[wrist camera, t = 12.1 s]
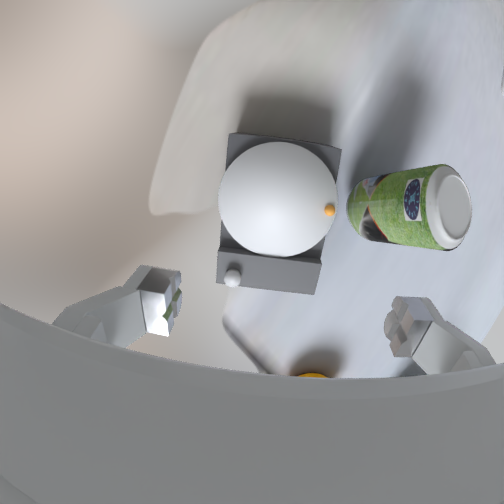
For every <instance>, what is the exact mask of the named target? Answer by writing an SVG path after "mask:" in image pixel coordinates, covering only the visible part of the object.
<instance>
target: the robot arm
mask: <svg viewBox="0 0 504 504" xmlns="http://www.w3.org/2000/svg"><path fill="white" fill-rule="evenodd" d="M501 91H502V95H503V97H504V68H503V77H502V84H501ZM180 283H181V273H180V271H177V270H171V269H165V268H159V267H153V266H148V265H140V266H139V267H138V268H137V269H136V271H135V272H134V273H133V275H132V276H131V277H130V278H129V279H128V280H127V282H126V283H125V284H124V285H123V287H121V286H118V287H116V288H113V289H110V290H108V291H105V292H103V293H100V294H98V295H95V296H93V297H90V298H88V299H85V300H83V301H80V302H78V303H76V304H73V305H70V306H68V307H66V308H65V309H64V311H63V312H62V313H61V314H60V315H59V316H58V317H57V318H56V320H55V321H54V322H53V323H52V324H48V323H46V322H43V321H41V320H38V319H36V318H34V317H31V316H29V315H26V314H24V313H22V312H19V311H17V310H15V309H13V308H10V307H8V306H6V305H4V304H2V303H0V504H504V363H500V364H496V363H495V361H494V359H493V358H492V356H491V354H490V353H489V351H488V350H487V348H486V347H484V346H483V345H481V344H480V343H479V342H477V341H476V340H474V339H473V338H471V337H470V336H468V335H467V334H466V333H464V332H463V331H461V330H460V329H458V328H457V327H455V326H454V325H452V324H451V323H449V322H448V321H444V319H443V318H442V316H441V315H440V313H439V312H438V310H437V309H436V307H435V306H434V304H433V303H432V302H431V300H430V299H429V298H427V297H400V296H396V298H395V299H394V300H393V303H392V309H393V310H392V311H391V312H389V313H388V314H387V317H386V319H385V322H384V333H385V335H386V337H387V338H388V339H389V340H390V341H391V343H390V348H391V350H392V353H393V355H394V357H412V359H413V360H414V361H415V362H416V363H417V364H418V365H419V366H420V367H421V368H422V369H423V370H424V371H425V372H426V374H427V375H420V376H407V377H389V378H315V377H296V376H283V375H271V374H261V373H252V372H244V371H236V370H229V369H222V368H216V367H210V366H204V365H198V364H192V363H187V362H182V361H177V360H172V359H167V358H163V357H158V356H154V355H150V354H145V353H141V352H137V351H133V350H129V349H126V347H127V346H129V345H130V344H132V343H133V342H134V341H136V340H137V339H139V338H140V337H142V336H143V335H144V334H146V332H149V333H154V334H159V335H165V336H169V334H170V332H171V330H172V327H173V325H174V318H175V317H177V316H178V314H179V312H180V308H181V303H182V292H181V290H180V289H179V285H180Z"/></svg>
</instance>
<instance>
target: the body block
mask: <svg viewBox="0 0 504 504" xmlns="http://www.w3.org/2000/svg"><path fill="white" fill-rule="evenodd" d="M341 150H342V149H339V148H336V147H333V146H329V145H324V144H318V143H312V142H306V141H300V140H294V139H287V138H279V137H272V136H263V135H254V134H244V133H230V134H229V138H228V148H227V159H226V170H225V174H224V176H223V178H222V181H221V184H220V187H219V194H218V205H219V212H220V215H221V218H222V222H221V236H220V247H219V250H218V257H217V258H218V259H217V278H216V283H220V284H226V285H227V286H229V287H236V286H242V287H250V288H258V289H266V290H275V291H284V292H292V293H302V294H311V295H314V293H315V290H316V286H317V282H318V278H319V274H320V270H321V266H322V263H321V260H320V258H321V253H322V249H323V244H324V240H325V235H326V233H327V232H328V231H329V229H330V227H331V226H332V224H333V221H334V219H335V215H336V212H337V205H338V195H337V188H336V180H337V174H338V169H339V163H340V157H341Z"/></svg>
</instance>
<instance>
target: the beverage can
mask: <svg viewBox="0 0 504 504" xmlns="http://www.w3.org/2000/svg"><path fill="white" fill-rule="evenodd" d="M346 212H347V217H348V220H349V222H350V224H351V226H352V227H353V228H354V229H355V230H356V231H357V233H358V234H359V235H361V236H362V237H363V238H365V239H367V240H370V241H377V242H384V243H392V244H400V245H407V246H414V247H422V248H429V249H436V250H443V251H450V250H453V249H455V248H457V247H458V246H459V245H460V244H461V242H462V241H463V239H464V237H465V235H466V234H467V232H468V230H469V227H470V223H471V218H472V203H471V198H470V194H469V191H468V188H467V186H466V184H465V183H464V181H463V180H462V178H461V177H460V175H459V174H458V173H457V172H456V171H455V170H454V169H453V168H452V167H450V166H448V165H445V164H439V165H433V166H428V167H422V168H416V169H411V170H406V171H400V172H395V173H390V174H385V175H380V176H375V177H371V178H366V179H364V180H362V181H360V182H359V183H358V184H357V185H356V186H355V187H354V189H353V190H352V192H351V193H350V195H349V197H348V200H347V204H346Z"/></svg>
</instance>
